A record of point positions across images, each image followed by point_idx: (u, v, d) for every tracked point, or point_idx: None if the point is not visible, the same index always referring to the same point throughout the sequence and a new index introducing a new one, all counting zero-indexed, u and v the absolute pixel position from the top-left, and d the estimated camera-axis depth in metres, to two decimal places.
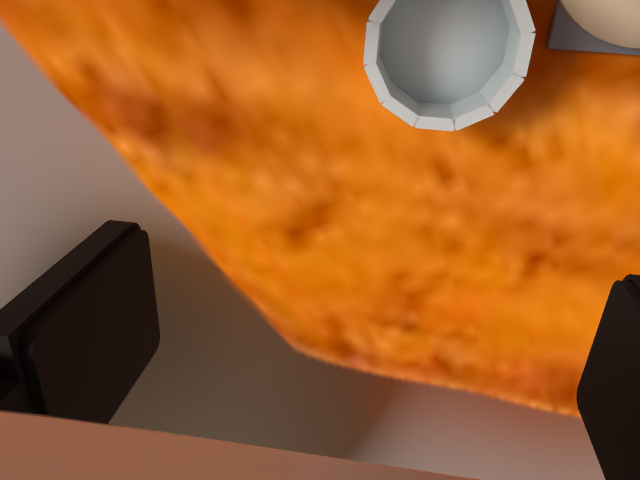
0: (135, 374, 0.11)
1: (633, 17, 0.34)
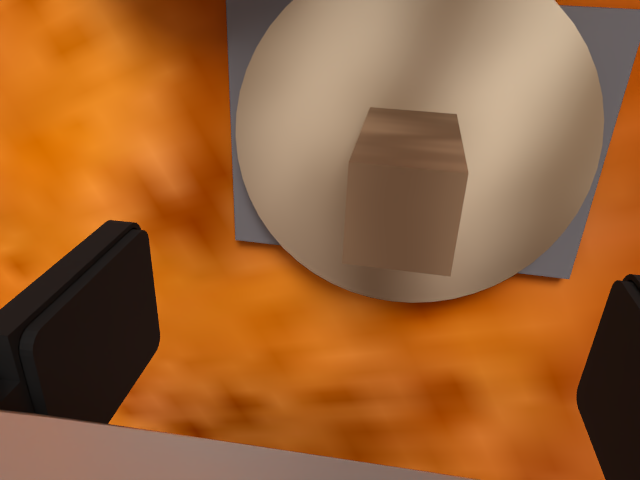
0: (135, 374, 0.11)
1: (282, 123, 0.20)
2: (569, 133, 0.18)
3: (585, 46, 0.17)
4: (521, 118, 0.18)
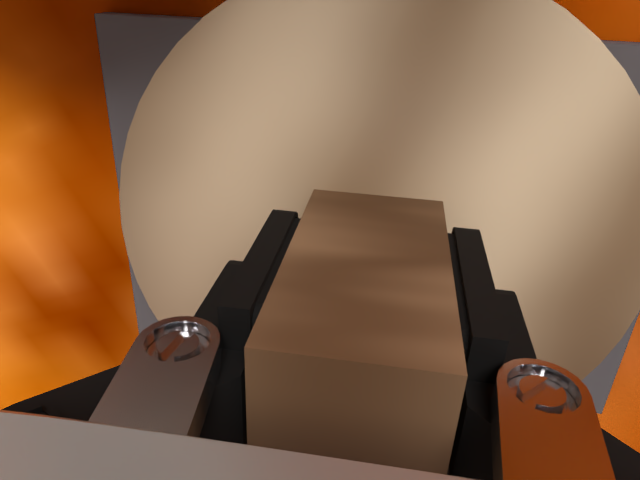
0: None
1: (186, 210, 0.13)
2: (613, 231, 0.12)
3: None
4: (540, 209, 0.12)
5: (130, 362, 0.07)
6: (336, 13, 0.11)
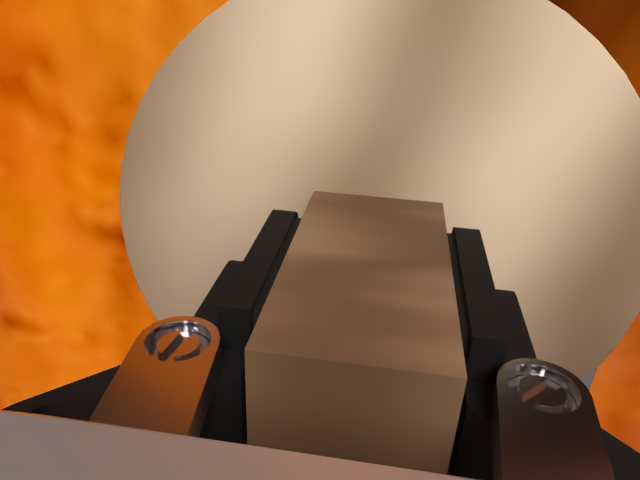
0: None
1: (186, 212, 0.13)
2: (612, 233, 0.12)
3: None
4: (540, 210, 0.12)
5: (130, 362, 0.07)
6: (336, 15, 0.11)
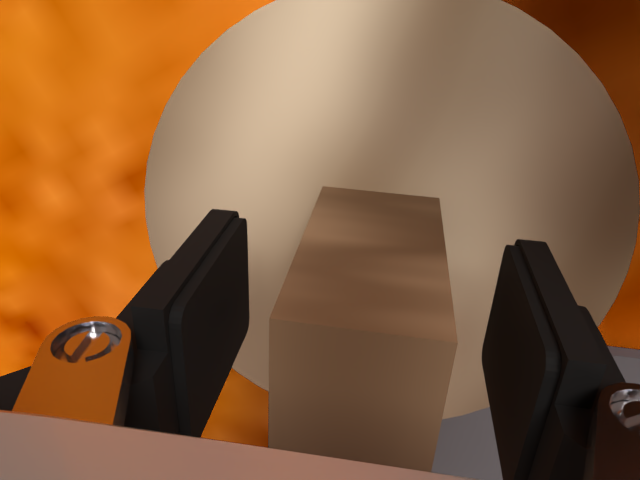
0: (234, 354, 0.12)
1: (205, 204, 0.15)
2: (592, 226, 0.13)
3: (617, 114, 0.12)
4: (527, 205, 0.13)
5: (38, 369, 0.07)
6: (345, 29, 0.12)
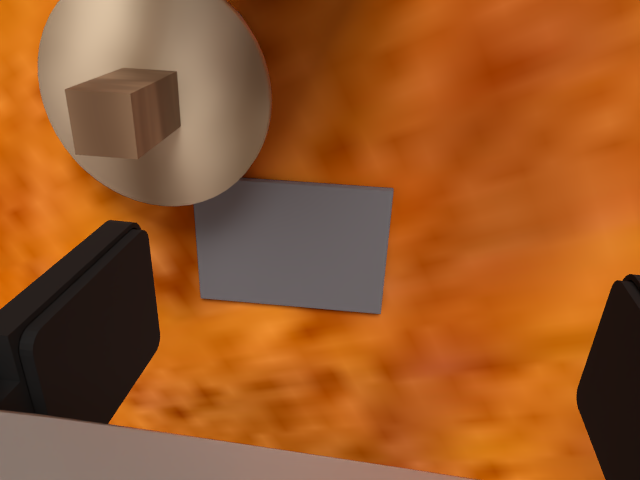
0: (135, 374, 0.11)
1: (69, 80, 0.30)
2: (246, 82, 0.29)
3: (242, 26, 0.27)
4: (216, 73, 0.29)
5: None
6: None
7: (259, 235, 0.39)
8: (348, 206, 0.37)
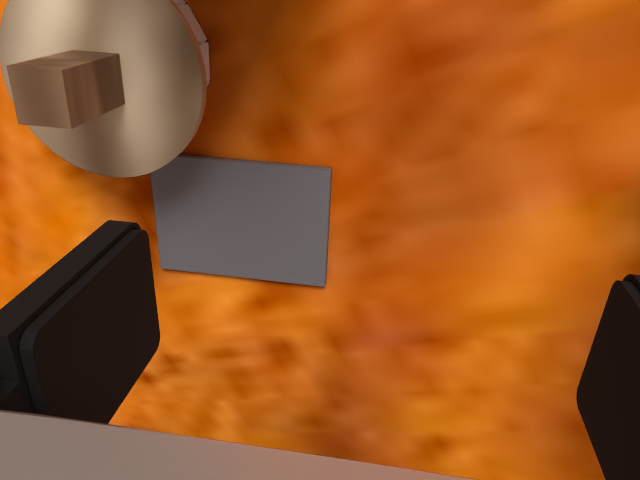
0: (135, 374, 0.11)
1: (26, 61, 0.33)
2: (180, 64, 0.32)
3: (173, 13, 0.31)
4: (153, 55, 0.32)
5: None
6: None
7: (211, 209, 0.42)
8: (291, 183, 0.40)
